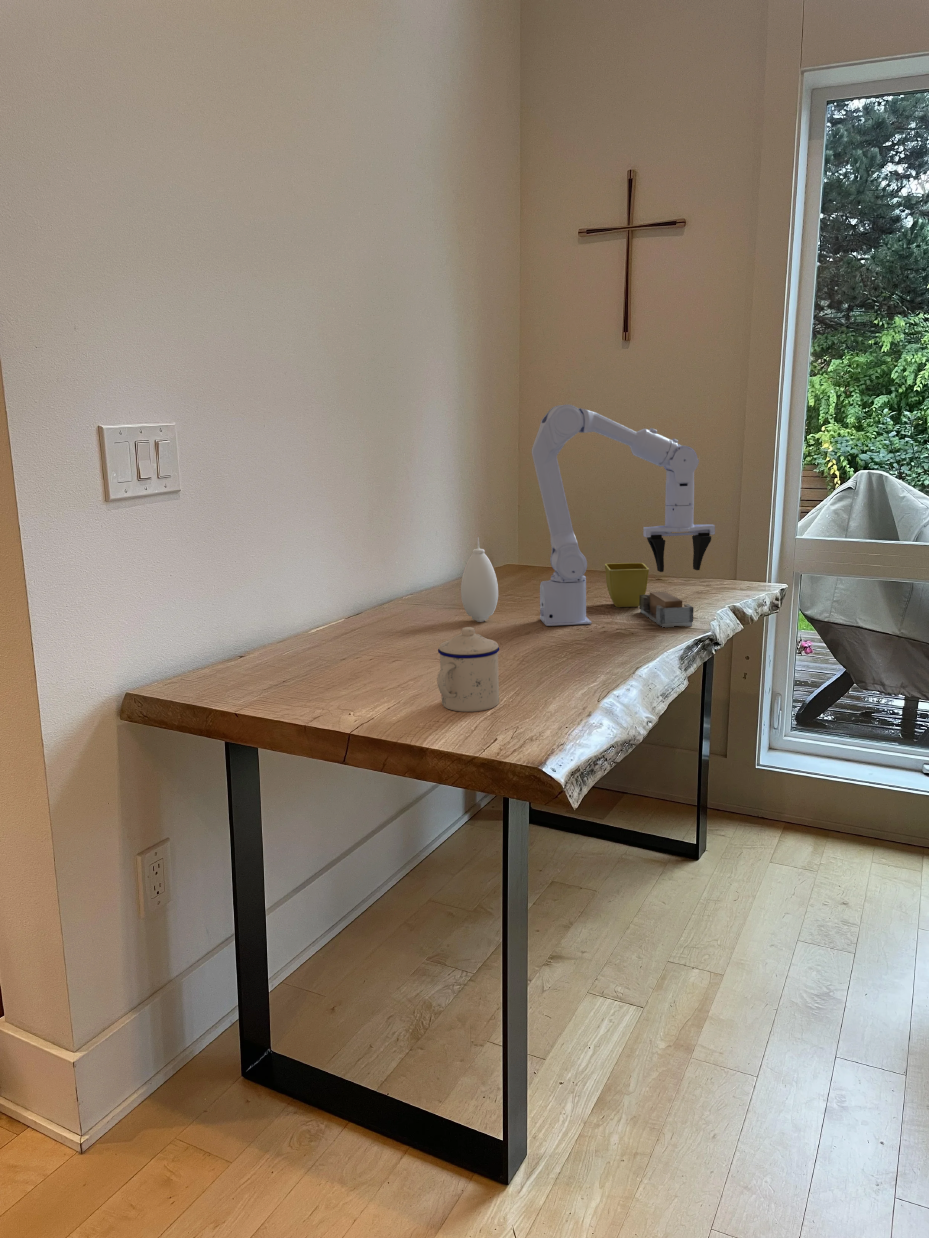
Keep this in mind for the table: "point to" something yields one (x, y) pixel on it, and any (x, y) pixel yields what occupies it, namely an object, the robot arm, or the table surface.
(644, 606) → the bracket
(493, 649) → the teacup with lid
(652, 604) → the block
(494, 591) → the white rubber air blower
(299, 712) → the table surface
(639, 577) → the flower pot
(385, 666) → the table surface
